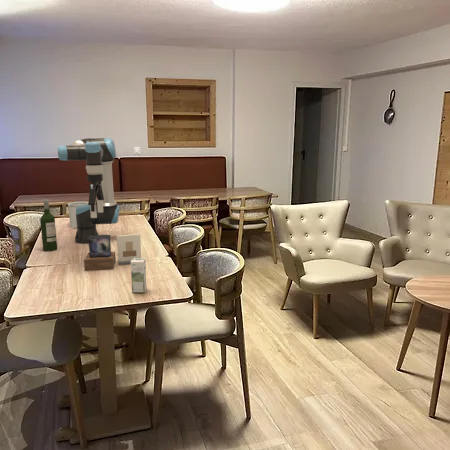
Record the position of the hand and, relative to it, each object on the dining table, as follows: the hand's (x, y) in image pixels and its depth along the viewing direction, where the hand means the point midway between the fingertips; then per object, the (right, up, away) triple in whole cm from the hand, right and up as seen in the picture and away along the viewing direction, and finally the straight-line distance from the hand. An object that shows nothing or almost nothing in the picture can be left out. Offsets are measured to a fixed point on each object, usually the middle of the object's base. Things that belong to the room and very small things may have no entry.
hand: (97, 215), depth 225 cm
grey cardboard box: (+15, -25, +10) cm, 31 cm away
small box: (+1, -21, +3) cm, 22 cm away
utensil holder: (-41, -6, +96) cm, 105 cm away
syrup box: (+28, -34, -31) cm, 54 cm away
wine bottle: (-38, -20, +35) cm, 55 cm away
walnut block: (+1, -27, +4) cm, 27 cm away
